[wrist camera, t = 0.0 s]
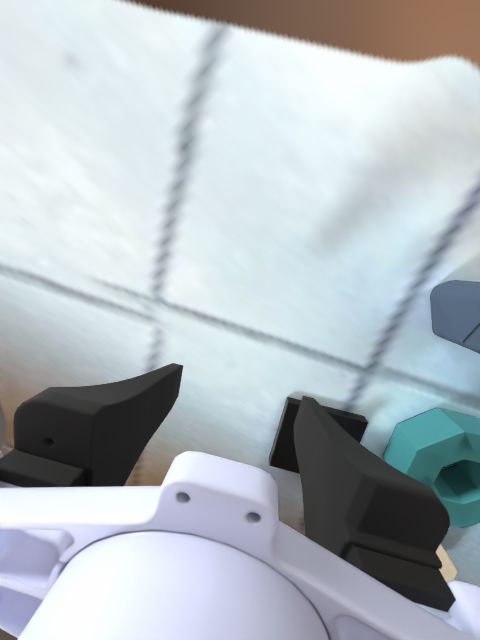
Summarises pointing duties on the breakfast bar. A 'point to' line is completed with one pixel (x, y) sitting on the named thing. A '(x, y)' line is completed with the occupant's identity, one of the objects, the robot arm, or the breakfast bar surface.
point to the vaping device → (457, 313)
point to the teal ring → (442, 459)
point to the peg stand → (284, 439)
